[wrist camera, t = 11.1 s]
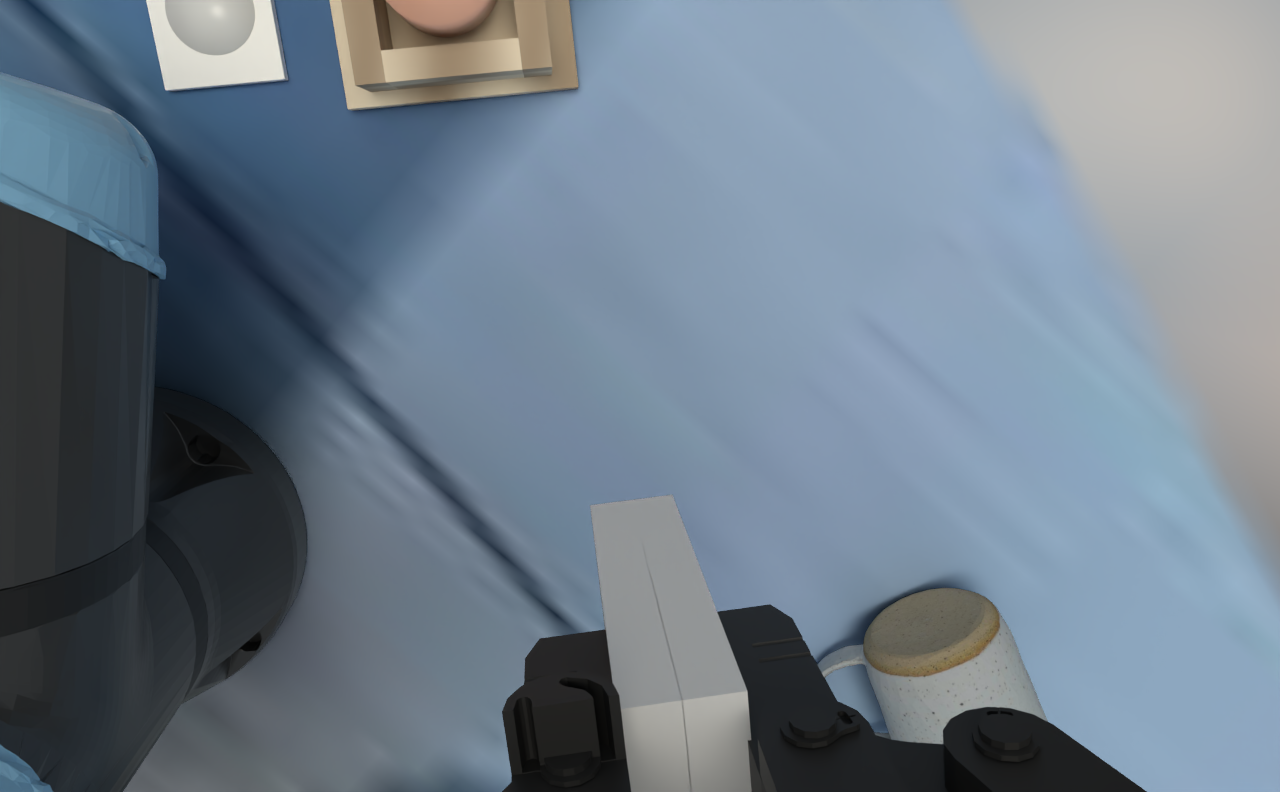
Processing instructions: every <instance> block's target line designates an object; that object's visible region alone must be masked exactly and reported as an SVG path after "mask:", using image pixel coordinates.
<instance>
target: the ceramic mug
mask: <svg viewBox="0 0 1280 792" xmlns="http://www.w3.org/2000/svg"><path fill="white" fill-rule="evenodd" d="M857 664H864V665H865V666H866V669H867V673H868V676H869V679H870V682H871V685H872V687H873V690H874V692H875V695H876V698H877V700H878V702H879V705H880V708H881V711H882V714H883V717H884V720H885V723H886V726H887V729H888V732H889V733H879V732H874V733H875V735H877V736H881V737H884V738H888V739H891V740H899V741H906V742H917V743H933V744H943V729H944V728H945V726H946V725H947V723H948V722H949V720H950V719H951V718H953V717H955V716H957V715H959V714H960V713H962V712H964V711H966V710H972V709H978V708H983V707H998V708H1000V707H1004V708H1012V709H1015V710H1019V711H1023V712H1027V713H1030V714H1034V715H1036V716H1038V717H1040V718H1041V719H1043V720H1045V721H1047V718H1046V716H1045V714H1044V712H1043V709H1042V707H1041V704H1040V702H1039V699H1038V697H1037V694H1036V692H1035V689H1034V687H1033V684H1032V682H1031V679H1030V677H1029V675H1028V673H1027V670H1026V668H1025V666H1024V664H1023V661H1022V659H1021V656H1020V653H1019V651H1018V648H1017V645H1016V643H1015V640H1014V638H1013V635H1012V633H1011V631H1010V629H1009V627H1008V625H1007V624H1006V622H1005V621H1004V619H1003V618H1002V616H1001V614H1000V613H999V611H998V609H997V608H996V607H995V606H994V605H993V603H992V602H990V601H989V600H988V599H987V598H985V597H984V596H982V595H980V594H977V593H974V592H971V591H967V590H962V589H957V588H938V589H930V590H925V591H922V592H918V593H915V594H911V595H909V596H907V597H904V598H902V599H900V600H898V601H897V602H895V603H893V604H891V605H890V606H888V607H887V608H885V609H884V610H883V611H882V612H881V613H880V614H879V615H878V616H877V617H876V618H875V619H874V620H873V622H872V623H871V624H870V626H869V627H868V629H867V631H866V633H865V637H864V643H863V644H860V645H852V646H846V647H843V648H841V649H839V650H837V651H834V652H832V653H830V654H829V655H827V656H825V657H824V658H823V659H822V660H821V661H820V662H819V663H818V664H817V665H818V667H819V669H820V671H821V672H822V674H823V676H824V678H825V677H826V676H827V675H829V674H830V673H832V672H833V671H835V670H838V669H841V668H844V667H846V666H853V665H857ZM1047 722H1048V721H1047Z"/></svg>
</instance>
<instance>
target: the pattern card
mask: <svg viewBox="0 0 1280 792" xmlns="http://www.w3.org/2000/svg"><path fill="white" fill-rule="evenodd" d="M146 2H147V6H148V11H149V16H150V20H151V25H152V30H153V34H154V39H155V44H156V48H157V53H158V58H159V62H160V67H161V72H162V76H163V81H164V86H165V90H166V91H181V90H192V89H202V88H213V87H224V86H234V85H245V84H256V83H266V82H277V81H288V75H287V69H286V64H285V58H284V53H283V47H282V42H281V36H280V31H279V25H278V20H277V14H276V9H275V3H274V0H146Z"/></svg>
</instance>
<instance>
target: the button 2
mask: <svg viewBox="0 0 1280 792" xmlns="http://www.w3.org/2000/svg"><path fill="white" fill-rule="evenodd" d="M386 1H387V2H388V3H389V4H390V5H391V7H392V8H393V9H394V10H395V11H396V12H397V13H398V14H399V15H400V16H401V17H402V18H403V19H404V20H405V21H406V22H407V23H409V24H410V25H412V26H413V27H414V28H416V29H418V30H420V31H422V32H424V33H427V34H430V35H434V36H440V37H453V36H459V35H462V34H465V33H467V32H469V31H472V30H473V29H475V28H476V27H478V26H479V25H480V24H481V23H482V22H484V21H485V19H486V18H487V17H488V16H489V15H490V13H491V12H492V10H493V8H494V6H495V4H496V2H497V0H386Z"/></svg>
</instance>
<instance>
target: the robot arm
mask: <svg viewBox="0 0 1280 792" xmlns="http://www.w3.org/2000/svg"><path fill="white" fill-rule="evenodd" d="M165 278H166V265H165V262H164V261H163V260H162V259H161V258H160V257H159V228H158V169H157V164H156V160H155V157H154V154H153V152H152V150H151V148H150V146H149V144H148V143H147V141H146V140H145V138H144V137H143V135H142V134H141V133H140V132H139V131H138V130H137V129H136V128H135V127H134V126H133V125H132V124H131V123H130V122H129V121H127V120H126V119H125V118H124V117H122V116H121V115H119V114H117V113H116V112H114V111H112V110H110V109H108V108H106V107H104V106H102V105H99V104H97V103H94V102H91V101H88V100H85V99H83V98H80V97H77V96H74V95H71V94H68V93H65V92H62V91H59V90H57V89H53V88H50V87H47V86H44V85H41V84H38V83H34V82H31V81H28V80H25V79H21V78H18V77H15V76H12V75H8V74H5V73H2V72H0V792H123V791H124V789H125V788H126V786H127V785H128V783H129V782H130V780H131V779H132V777H133V776H134V774H135V773H136V771H137V770H138V768H139V767H140V765H141V764H142V762H143V761H144V759H145V758H146V756H147V755H148V753H149V752H150V750H151V749H152V747H153V746H154V744H155V743H156V741H157V740H158V738H159V737H160V735H161V734H162V732H163V731H164V729H165V728H166V726H167V725H168V723H169V722H170V720H171V719H172V717H173V716H174V714H175V713H176V711H177V709H178V708H179V706H180V705H181V704H182V703H184V702H186V701H188V700H190V699H191V698H193V697H195V696H197V695H199V694H200V693H202V692H204V691H206V690H208V689H209V688H211V687H213V686H215V685H217V684H218V683H220V682H222V681H224V680H226V679H227V678H229V677H230V676H232V675H233V674H235V673H236V672H238V671H239V670H240V669H241V668H243V667H244V666H245V665H246V664H248V663H249V662H250V661H251V660H252V659H253V658H254V657H255V656H256V655H257V654H258V653H259V652H260V651H261V650H262V649H263V648H264V647H265V646H266V644H267V643H268V642H269V641H270V639H271V638H272V637H273V635H274V634H275V632H276V631H277V629H278V628H279V626H280V624H281V623H282V621H283V619H284V617H285V616H286V614H287V612H288V611H289V609H290V607H291V605H292V603H293V602H294V599H295V597H296V595H297V593H298V590H299V587H300V584H301V581H302V578H303V574H304V569H305V563H306V554H307V535H306V526H305V520H304V515H303V511H302V507H301V504H300V501H299V498H298V495H297V493H296V490H295V488H294V486H293V484H292V482H291V480H290V478H289V476H288V474H287V472H286V471H285V469H284V468H283V466H282V464H281V463H280V462H279V460H278V459H277V457H276V456H275V455H274V454H273V452H272V451H271V450H270V449H269V448H268V446H267V445H266V444H265V443H264V442H263V441H262V440H261V439H260V438H259V437H258V436H257V435H256V434H255V433H253V432H252V431H251V430H250V429H249V428H248V427H246V426H245V425H244V424H242V423H241V422H240V421H238V420H237V419H236V418H234V417H233V416H231V415H230V414H228V413H226V412H225V411H223V410H221V409H219V408H218V407H216V406H214V405H212V404H210V403H208V402H205V401H203V400H201V399H198V398H196V397H193V396H190V395H187V394H184V393H181V392H177V391H173V390H169V389H164V388H159V387H154V382H155V361H156V340H157V319H158V298H159V279H164V280H165ZM590 508H591V516H592V525H593V533H594V542H595V550H596V558H597V567H598V575H599V584H600V592H601V600H602V609H603V617H604V626H605V630H599V631H592V632H585V633H577V634H570V635H563V636H556V637H548V638H541V639H539V641H538V642H537V643H536V645H535V646H534V647H533V649H532V650H531V651H530V653H529V654H528V655H527V657H526V658H525V682H524V685H523V686H521V687H520V688H519V689H518V690H516V691H515V692H514V693H513V694H512V695H511V696H510V697H509V698H508V699H507V701H506V704H505V706H504V708H503V711H502V714H503V720H504V727H505V734H506V740H507V747H508V753H509V760H510V766H511V773H512V782H511V783H510V784H509V785H508V786H507V787H506V788H505V789H504V790H503V791H502V792H1146V791H1145V790H1143V789H1142V788H1141V787H1139V786H1138V785H1137V784H1135V783H1134V782H1132V781H1131V780H1130V779H1128V778H1127V777H1125V776H1124V775H1123V774H1121V773H1120V772H1118V771H1117V770H1116V769H1114V768H1113V767H1111V766H1110V765H1109V764H1107V763H1106V762H1104V761H1103V760H1102V759H1100V758H1099V757H1097V756H1096V755H1095V754H1093V753H1092V752H1091V751H1089V750H1088V749H1086V748H1085V747H1084V746H1082V745H1081V744H1079V743H1078V742H1077V741H1075V740H1074V739H1072V738H1071V737H1070V736H1068V735H1067V734H1065V733H1064V732H1063V731H1061V730H1060V729H1058V728H1057V727H1056V726H1054V725H1053V724H1051V723H1049V722H1047V721H1045V720H1043V719H1041V718H1040V717H1038V716H1036V715H1034V714H1030V713H1027V712H1023V711H1019V710H1015V709H1012V708H1004V707H1000V708H998V707H983V708H978V709H972V710H966V711H964V712H962V713H960V714H959V715H957V716H955V717H953V718H951V719H950V720H949V722H948V723H947V725H946V726H945V728H944V729H943V744H933V743H917V742H906V741H899V740H891V739H888V738H884V737H881V736H877V735H875V733H874V731H873V730H872V728H871V726H870V724H869V723H868V721H867V720H866V719H865V718H864V717H863V716H862V715H861V714H860V713H859V712H858V711H857V710H855V709H853V708H851V707H849V706H847V705H844V704H842V703H840V702H837V700H836V698H835V696H834V695H833V693H832V691H831V689H830V687H829V685H828V684H827V682H826V680H825V678H824V676H823V674H822V672H821V671H820V669H819V667H818V665H817V663H816V661H815V660H814V658H813V656H811V654H810V650H809V649H808V647H807V645H806V643H805V641H803V639H802V636H801V634H800V632H799V630H798V628H797V626H796V625H795V623H794V621H793V619H792V618H790V617H789V616H787V615H786V614H784V613H783V612H781V611H780V610H778V609H776V608H775V607H773V606H772V605H763V606H756V607H749V608H742V609H734V610H727V611H720V612H717V610H716V608H715V605H714V602H713V600H712V597H711V595H710V592H709V589H708V587H707V584H706V582H705V579H704V576H703V574H702V571H701V568H700V566H699V563H698V561H697V558H696V555H695V553H694V550H693V548H692V545H691V542H690V540H689V537H688V534H687V532H686V529H685V527H684V524H683V521H682V519H681V516H680V514H679V511H678V508H677V506H676V503H675V501H674V498H673V495H666V496H658V497H651V498H643V499H635V500H627V501H619V502H611V503H604V504H596V505H590Z"/></svg>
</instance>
